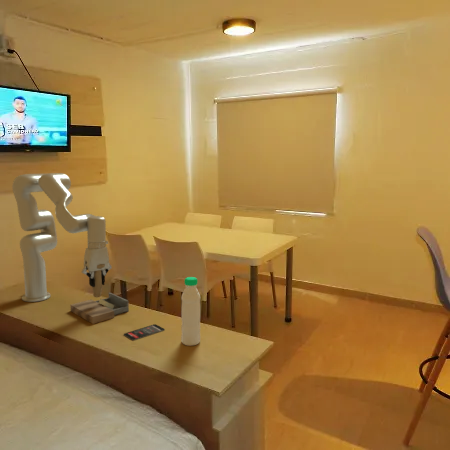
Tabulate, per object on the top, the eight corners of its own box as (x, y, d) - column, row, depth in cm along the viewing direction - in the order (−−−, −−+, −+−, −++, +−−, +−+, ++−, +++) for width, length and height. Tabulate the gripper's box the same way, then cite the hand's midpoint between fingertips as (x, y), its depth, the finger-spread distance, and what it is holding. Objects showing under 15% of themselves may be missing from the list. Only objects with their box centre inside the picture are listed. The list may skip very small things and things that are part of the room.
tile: (98, 302, 186) (100, 298, 186) (106, 306, 189) (108, 302, 190) (104, 305, 183) (106, 301, 183) (112, 309, 186) (114, 305, 187)
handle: (92, 294, 186) (92, 261, 183) (106, 295, 185) (106, 262, 182) (87, 297, 181) (87, 264, 178) (101, 299, 180) (101, 265, 178)
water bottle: (183, 347, 151) (183, 281, 147) (179, 339, 158) (179, 276, 154) (202, 345, 153) (202, 280, 149) (197, 337, 160) (198, 274, 156)
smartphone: (122, 333, 161) (155, 323, 171) (122, 335, 161) (155, 325, 171) (132, 340, 156) (165, 329, 166) (132, 341, 156) (165, 331, 166)
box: (94, 306, 190) (93, 296, 190) (110, 302, 196) (109, 292, 195) (112, 316, 179) (112, 305, 179) (128, 311, 185) (128, 300, 184)
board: (70, 311, 185) (70, 304, 184) (91, 305, 192) (91, 299, 191) (92, 323, 171) (92, 317, 170) (114, 317, 178) (114, 310, 177)
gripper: (109, 240, 187) (109, 279, 191) (74, 245, 175) (75, 286, 179) (118, 243, 182) (118, 283, 185) (82, 249, 170) (83, 291, 174)
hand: (97, 284), depth 182 cm, fingers closed on handle, 4 cm apart
